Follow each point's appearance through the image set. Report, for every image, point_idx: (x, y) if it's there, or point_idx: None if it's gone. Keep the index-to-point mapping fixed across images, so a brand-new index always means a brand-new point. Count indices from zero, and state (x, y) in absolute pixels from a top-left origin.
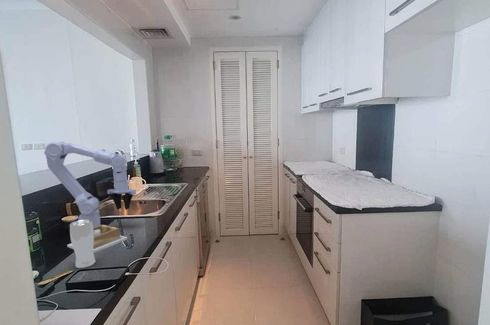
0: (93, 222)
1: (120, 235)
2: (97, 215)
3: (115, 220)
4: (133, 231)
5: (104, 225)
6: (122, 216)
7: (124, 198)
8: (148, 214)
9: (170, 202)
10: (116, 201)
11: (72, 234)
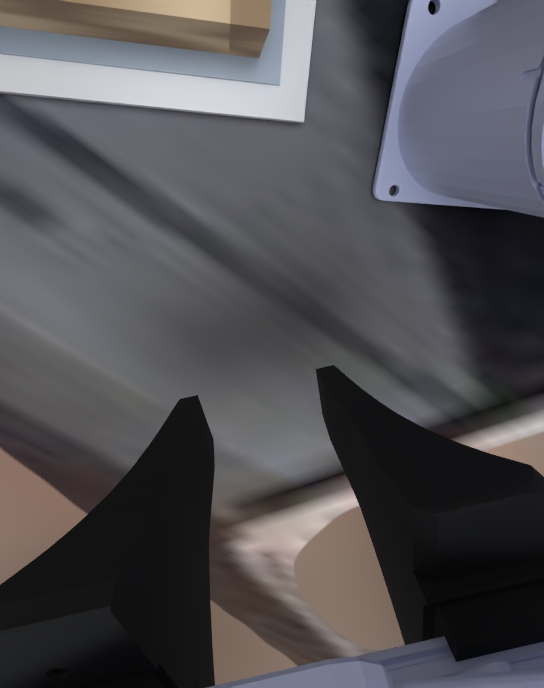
0: (472, 55)
1: (20, 93)
2: (502, 129)
3: (461, 380)
4: (94, 272)
5: (198, 5)
6: (469, 445)
7: (92, 545)
8: (319, 522)
9: (355, 650)
10: (358, 440)
11: None
